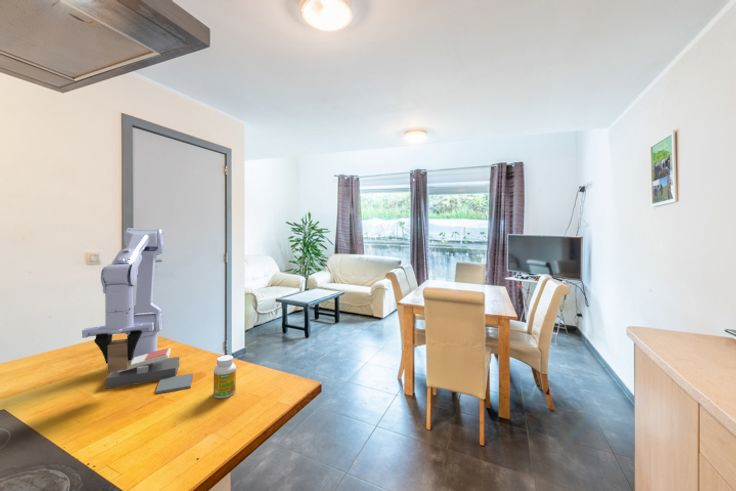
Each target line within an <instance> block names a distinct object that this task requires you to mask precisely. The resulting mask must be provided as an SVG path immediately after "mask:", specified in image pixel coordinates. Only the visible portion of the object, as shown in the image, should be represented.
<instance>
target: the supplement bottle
mask: <svg viewBox="0 0 736 491" xmlns="http://www.w3.org/2000/svg"><path fill="white" fill-rule="evenodd" d="M236 374H237V366H236V364H235V363H234V356H233V355H231V354H225V355H222V356H219V357H217V358H216V366H215V367H214V368H213V397H215V398H217V399H225V398H229V397H231V396H233V395H234V394H235V393H236V389H237V387H236V382H237V381H236V380H237V379H236V378H237V377H236Z"/></svg>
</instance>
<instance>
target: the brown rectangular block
mask: <svg viewBox="0 0 736 491" xmlns="http://www.w3.org/2000/svg"><path fill="white" fill-rule="evenodd" d="M130 365H131V360H130V361H128V340H127V338H122V339H112V341H111V342H110V343H109V344H108V363H107V373H111V372H113V371H120V370H127V369H128V368H129V366H130Z"/></svg>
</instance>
